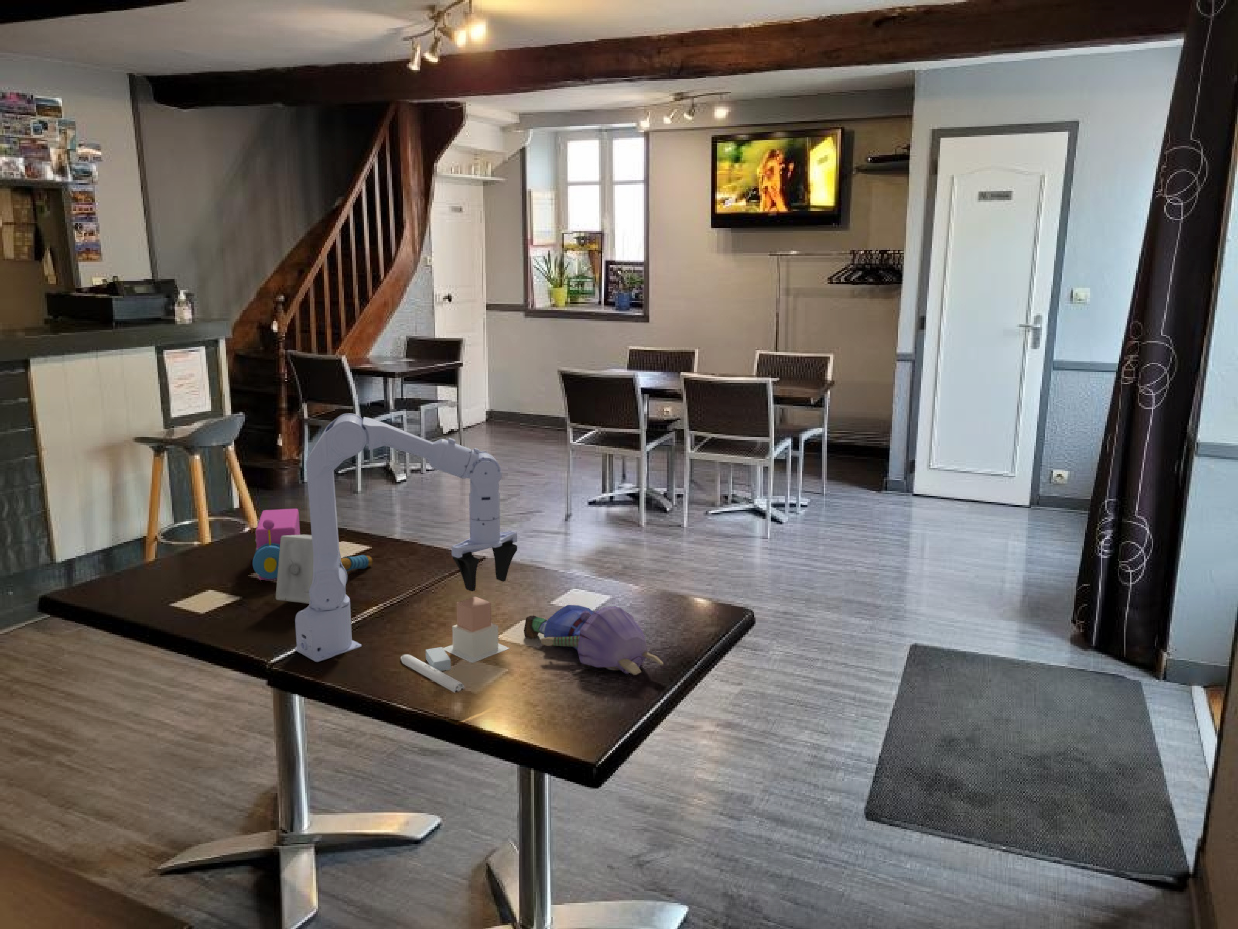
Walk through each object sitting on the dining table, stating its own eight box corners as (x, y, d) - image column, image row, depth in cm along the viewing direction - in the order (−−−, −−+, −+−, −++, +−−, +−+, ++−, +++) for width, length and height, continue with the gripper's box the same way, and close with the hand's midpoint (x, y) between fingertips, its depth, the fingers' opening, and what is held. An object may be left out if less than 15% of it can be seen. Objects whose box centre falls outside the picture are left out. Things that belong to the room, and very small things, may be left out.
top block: (472, 632, 167) (471, 608, 166) (457, 625, 170) (456, 602, 169) (491, 625, 170) (491, 602, 169) (476, 619, 173) (475, 596, 172)
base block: (473, 658, 167) (472, 634, 166) (452, 648, 171) (452, 626, 170) (498, 648, 171) (498, 625, 170) (477, 639, 175) (477, 617, 174)
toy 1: (264, 552, 227) (260, 493, 224) (302, 549, 230) (298, 491, 227) (253, 589, 201) (248, 524, 198) (296, 586, 204) (292, 521, 201)
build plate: (471, 665, 165) (471, 662, 165) (441, 650, 171) (441, 648, 171) (509, 650, 171) (509, 648, 171) (479, 637, 177) (479, 635, 177)
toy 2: (512, 651, 175) (611, 698, 152) (510, 597, 173) (610, 636, 150) (585, 629, 186) (688, 669, 163) (584, 578, 184) (687, 612, 161)
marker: (396, 663, 166) (395, 651, 165) (406, 660, 167) (405, 648, 167) (454, 697, 153) (454, 684, 153) (464, 693, 155) (464, 680, 154)
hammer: (349, 587, 218) (272, 600, 189) (354, 531, 219) (278, 535, 190) (381, 591, 216) (308, 604, 187) (385, 534, 217) (313, 539, 188)
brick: (451, 672, 162) (450, 659, 162) (434, 675, 161) (433, 662, 160) (442, 659, 168) (441, 646, 167) (426, 662, 166) (425, 649, 166)
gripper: (467, 528, 165) (469, 599, 168) (527, 513, 176) (527, 580, 178) (443, 521, 170) (445, 590, 173) (503, 506, 180) (504, 572, 183)
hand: (485, 584), depth 176 cm, fingers open, 7 cm apart
